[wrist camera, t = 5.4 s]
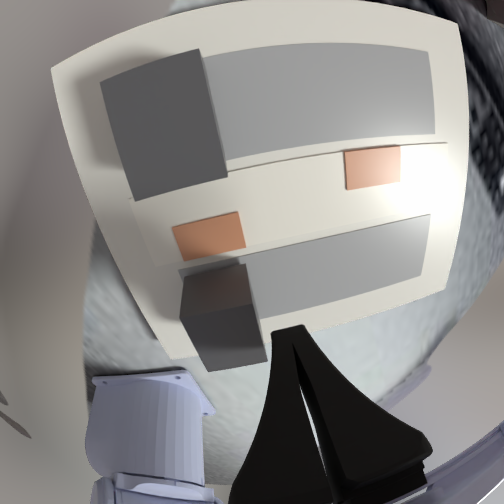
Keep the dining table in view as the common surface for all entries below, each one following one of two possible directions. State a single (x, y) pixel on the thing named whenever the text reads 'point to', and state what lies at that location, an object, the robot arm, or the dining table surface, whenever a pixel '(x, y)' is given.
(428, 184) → the switch panel
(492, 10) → the electrical switch
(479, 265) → the dining table surface
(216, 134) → the tab
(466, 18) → the dining table surface
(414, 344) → the dining table surface
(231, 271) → the dark grey block
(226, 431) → the dining table surface
